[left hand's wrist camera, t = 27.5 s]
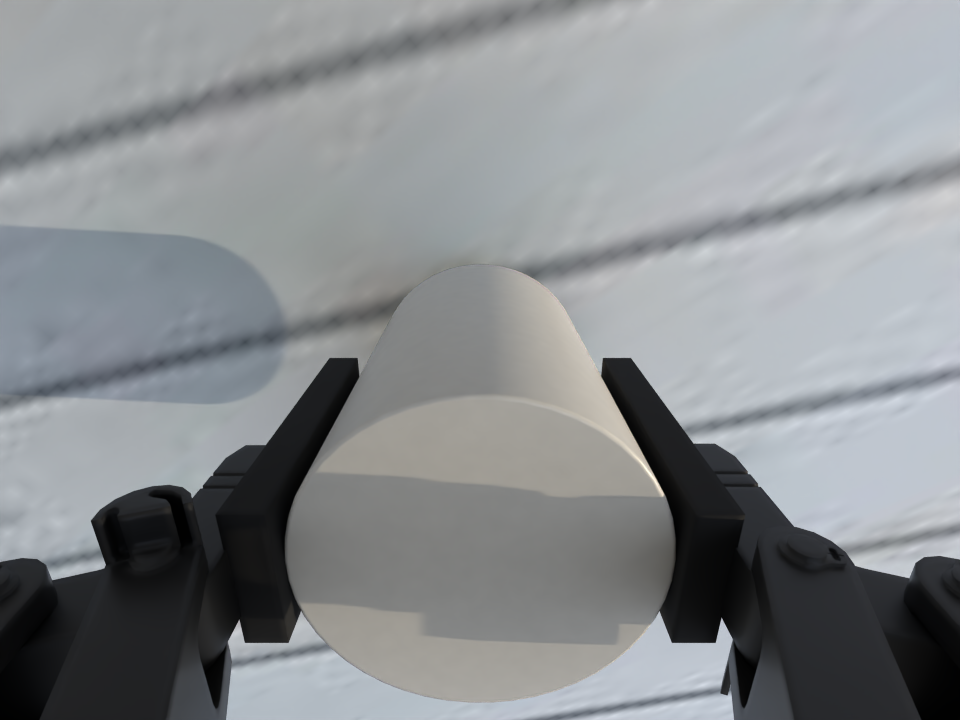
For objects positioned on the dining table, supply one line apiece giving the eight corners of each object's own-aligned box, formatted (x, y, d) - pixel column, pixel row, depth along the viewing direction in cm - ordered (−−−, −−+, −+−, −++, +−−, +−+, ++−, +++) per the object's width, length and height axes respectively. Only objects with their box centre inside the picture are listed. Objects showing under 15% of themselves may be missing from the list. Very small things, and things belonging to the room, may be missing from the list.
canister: (529, 227, 16) (590, 321, 7) (606, 400, 18) (726, 637, 9) (346, 318, 17) (200, 497, 8) (439, 470, 19) (405, 742, 10)
